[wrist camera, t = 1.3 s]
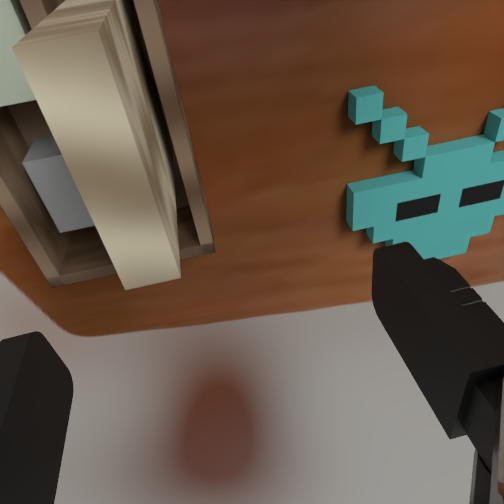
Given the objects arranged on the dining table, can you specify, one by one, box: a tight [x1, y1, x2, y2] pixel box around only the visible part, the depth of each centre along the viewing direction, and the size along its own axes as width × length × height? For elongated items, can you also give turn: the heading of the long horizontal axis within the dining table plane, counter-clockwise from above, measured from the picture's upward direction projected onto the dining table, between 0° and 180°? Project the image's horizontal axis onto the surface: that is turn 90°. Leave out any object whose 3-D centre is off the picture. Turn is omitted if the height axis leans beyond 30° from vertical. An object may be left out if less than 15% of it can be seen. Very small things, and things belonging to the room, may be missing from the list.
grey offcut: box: [22, 135, 95, 233], centre depth 31 cm, size 6×4×4 cm, turn 8°
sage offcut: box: [0, 0, 36, 107], centre depth 24 cm, size 7×4×5 cm, turn 8°
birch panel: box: [12, 0, 181, 290], centre depth 24 cm, size 12×3×15 cm, turn 8°
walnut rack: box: [0, 0, 215, 288], centre depth 28 cm, size 24×13×7 cm, turn 8°
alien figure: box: [346, 86, 504, 259], centre depth 40 cm, size 20×2×20 cm
